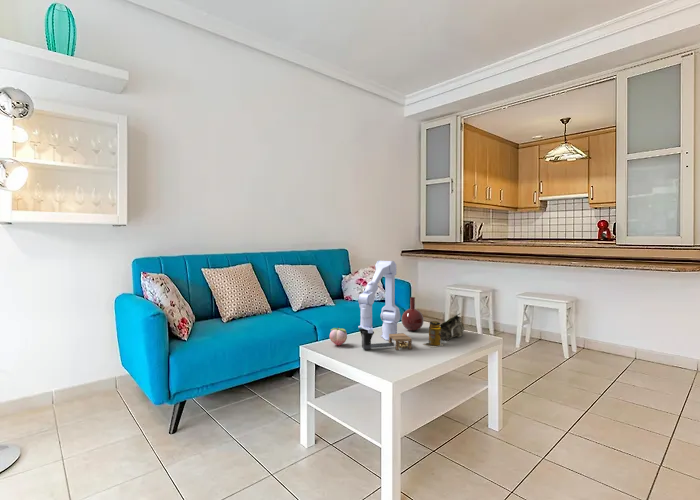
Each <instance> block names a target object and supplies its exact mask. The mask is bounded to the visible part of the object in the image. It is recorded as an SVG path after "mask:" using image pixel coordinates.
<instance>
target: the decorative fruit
mask: <svg viewBox="0 0 700 500" xmlns="http://www.w3.org/2000/svg"><path fill="white" fill-rule="evenodd" d="M347 339H348V333H347V330H346V329H345V328H340V327H339V326H338V327H333V328H331V329H330V333H329V340H330V341H331V342H332V343H333V344H334V345H336V346H342V345H343V344H345V342H347Z"/></svg>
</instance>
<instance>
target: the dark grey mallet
mask: <svg viewBox="0 0 700 500" xmlns="http://www.w3.org/2000/svg"><path fill="white" fill-rule="evenodd" d="M394 346H395V343H394V342H393V341H392V342H391V343H389V342H379V343H376V342H375V343H372V341H371V342H370V345H365V339H364V335H363V333H362V336H361V348H362V349H363V350H371V349H375V348H388V347H389V348H390V347H394Z"/></svg>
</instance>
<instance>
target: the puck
mask: <svg viewBox="0 0 700 500" xmlns="http://www.w3.org/2000/svg"><path fill="white" fill-rule="evenodd" d="M399 349H408V341H404V342H399Z"/></svg>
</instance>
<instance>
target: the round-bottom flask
mask: <svg viewBox="0 0 700 500" xmlns="http://www.w3.org/2000/svg"><path fill="white" fill-rule="evenodd" d="M409 298H410V299H409V300H410V303H409V304H410V305H409V306H410V307H409V308H408V309H406V310H405V311H404V312H403V313H402V315H401V324H402V326H403V327H404V328H405V329H406V330H407V331H410V332H416V331H418V330H420V329H421V328H422V327H423V325H424V322H425V321H424V320H425V319H424V316H423V314H422V312H421V311H420V310H418V309H417V308H416V302H415V300H416V297H414V296H413V297H412V296H411V297H409Z"/></svg>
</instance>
